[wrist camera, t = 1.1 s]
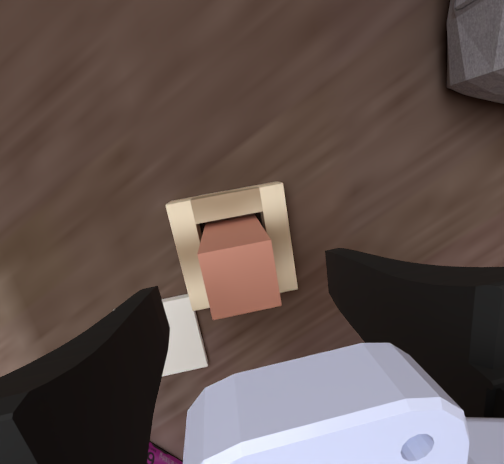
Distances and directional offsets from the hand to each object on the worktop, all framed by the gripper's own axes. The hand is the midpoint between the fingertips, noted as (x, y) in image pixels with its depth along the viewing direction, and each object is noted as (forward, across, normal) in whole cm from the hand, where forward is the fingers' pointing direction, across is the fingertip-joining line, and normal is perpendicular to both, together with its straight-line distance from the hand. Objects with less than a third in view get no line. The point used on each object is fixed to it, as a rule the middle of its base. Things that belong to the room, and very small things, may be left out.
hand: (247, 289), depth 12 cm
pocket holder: (+11, 0, +2) cm, 12 cm away
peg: (+11, 0, +2) cm, 12 cm away
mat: (+11, +8, +9) cm, 16 cm away
